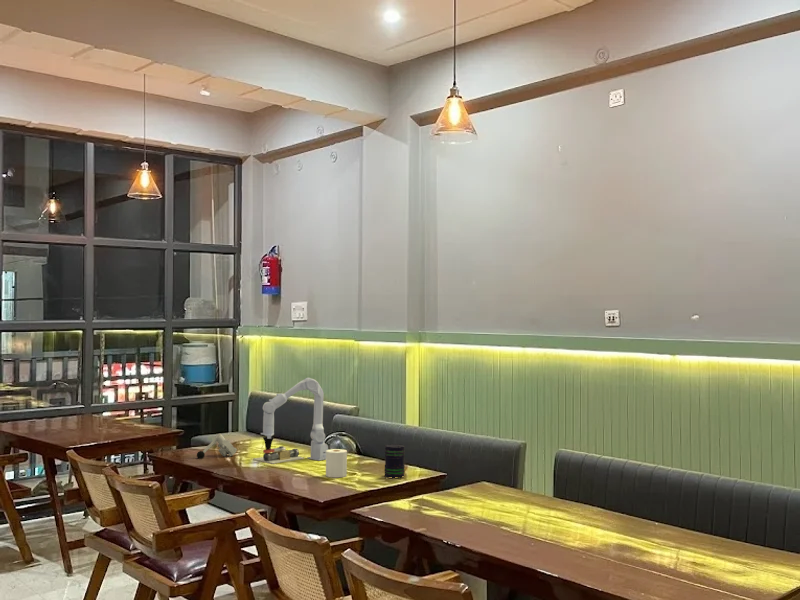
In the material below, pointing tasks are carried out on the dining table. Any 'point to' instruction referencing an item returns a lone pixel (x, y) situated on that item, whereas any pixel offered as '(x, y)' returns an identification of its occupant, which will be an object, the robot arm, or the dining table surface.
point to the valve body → (281, 455)
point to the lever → (275, 449)
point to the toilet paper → (336, 463)
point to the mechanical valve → (224, 449)
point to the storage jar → (394, 460)
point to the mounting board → (278, 460)
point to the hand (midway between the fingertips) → (268, 450)
